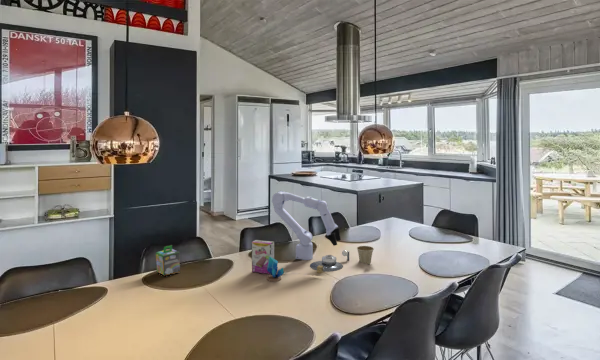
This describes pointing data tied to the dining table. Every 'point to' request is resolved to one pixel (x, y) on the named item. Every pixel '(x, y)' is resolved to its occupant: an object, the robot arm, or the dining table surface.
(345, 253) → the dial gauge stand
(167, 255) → the chalk box
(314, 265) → the turntable
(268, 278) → the gemstone
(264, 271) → the candy bar box
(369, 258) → the flower pot
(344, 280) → the dining table surface
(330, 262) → the cover
